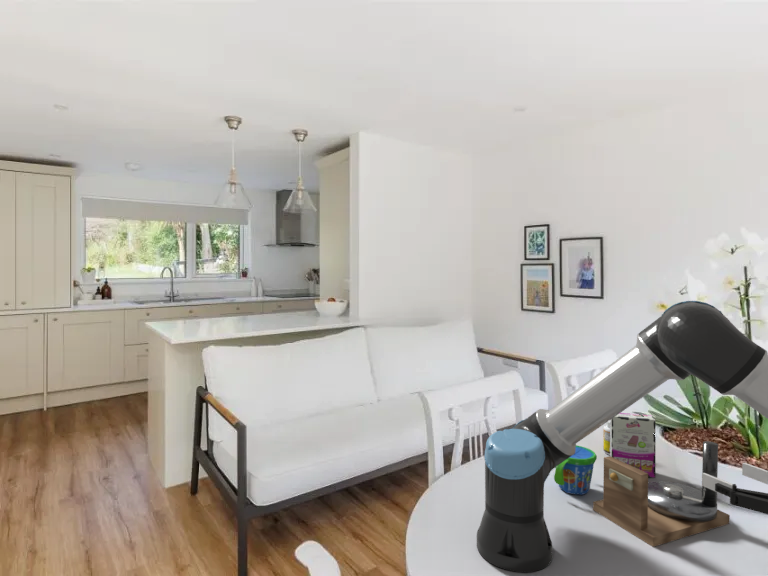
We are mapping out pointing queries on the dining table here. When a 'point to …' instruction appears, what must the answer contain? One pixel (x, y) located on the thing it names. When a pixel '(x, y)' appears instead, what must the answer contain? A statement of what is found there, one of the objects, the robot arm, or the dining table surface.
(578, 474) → the snack cup
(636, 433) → the candy bar box
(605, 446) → the supplement bottle
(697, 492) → the dial
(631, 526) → the levelling stand
